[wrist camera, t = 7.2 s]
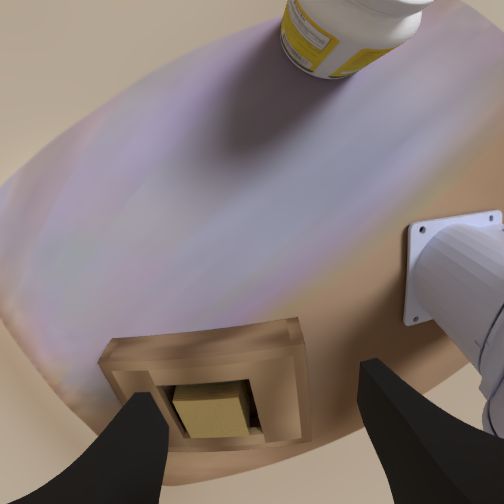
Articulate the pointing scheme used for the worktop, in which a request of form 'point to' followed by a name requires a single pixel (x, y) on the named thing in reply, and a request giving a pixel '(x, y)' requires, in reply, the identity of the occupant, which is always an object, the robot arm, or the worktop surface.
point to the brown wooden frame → (221, 378)
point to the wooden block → (214, 409)
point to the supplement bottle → (346, 32)
